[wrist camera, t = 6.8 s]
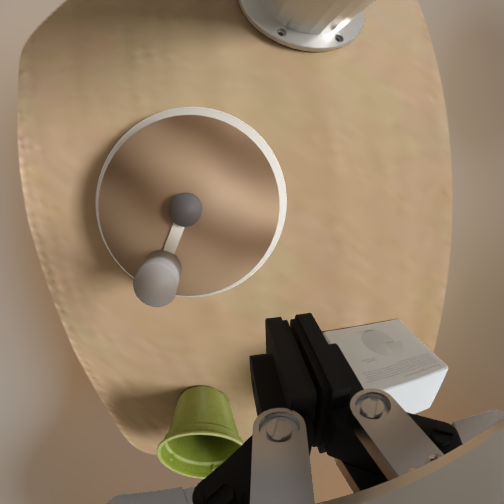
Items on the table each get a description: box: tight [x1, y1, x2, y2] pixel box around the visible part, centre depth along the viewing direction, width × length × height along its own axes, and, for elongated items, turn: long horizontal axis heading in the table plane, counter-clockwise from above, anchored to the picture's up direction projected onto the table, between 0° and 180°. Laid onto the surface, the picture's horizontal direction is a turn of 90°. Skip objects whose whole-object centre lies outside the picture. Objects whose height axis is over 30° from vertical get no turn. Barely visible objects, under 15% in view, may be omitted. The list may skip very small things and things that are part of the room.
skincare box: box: [323, 319, 448, 414], centre depth 27 cm, size 10×6×10 cm, turn 91°
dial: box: [98, 115, 280, 307], centre depth 20 cm, size 14×14×5 cm
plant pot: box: [157, 386, 244, 479], centre depth 27 cm, size 9×9×9 cm
